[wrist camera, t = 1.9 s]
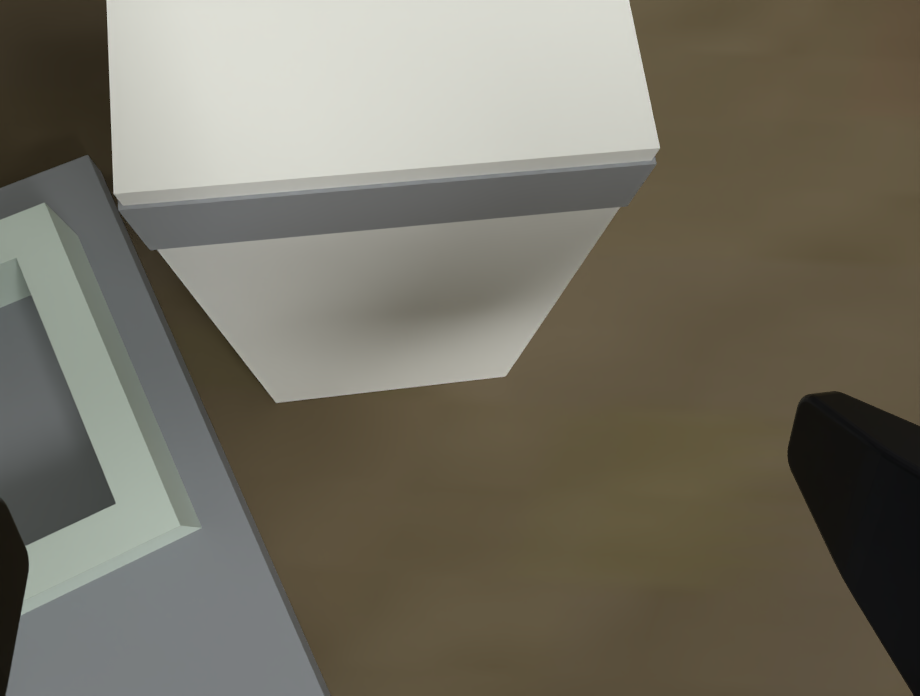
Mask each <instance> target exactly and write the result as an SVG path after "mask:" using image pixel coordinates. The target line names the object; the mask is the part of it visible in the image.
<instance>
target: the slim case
mask: <svg viewBox="0 0 920 696" xmlns="http://www.w3.org/2000/svg"><path fill="white" fill-rule="evenodd" d="M107 27H108V54H109V81H110V108H111V136H112V163H113V190H114V195H115V196H116V198H117V199H118V211H119V212H120V213H121V215H122V216H123V217H124V218H125V219H126V221H127V222H128V223H129V224H130V226H131V227H132V228H133V229H134V231H135V232H136V233H137V234H138V236H139V237H140V238H141V239H142V241H143V242H144V243H145V244H146V246H147V247H148V248H149V249H150V250H158V252H159V253H160V254H161V256H162V257H163V258H164V259H165V261H166V262H167V263H168V265H169V266H170V267H171V268H172V270H173V271H174V272H175V274H176V275H177V276H178V277H179V279H180V280H181V281H182V283H183V284H184V285H185V286H186V288H187V289H188V290H189V292H190V293H191V294H192V295H193V297H194V298H195V299H196V301H197V302H198V303H199V304H200V306H201V307H202V308H203V310H204V311H205V312H206V313H207V315H208V316H209V317H210V319H211V320H212V321H213V322H214V324H215V325H216V326H217V328H218V329H219V330H220V331H221V333H222V334H223V335H224V337H225V338H226V339H227V340H228V342H229V343H230V344H231V346H232V347H233V348H234V349H235V351H236V352H237V353H238V355H239V356H240V357H241V358H242V360H243V361H244V362H245V364H246V365H247V366H248V367H249V369H250V370H251V371H252V373H253V374H254V375H255V376H256V378H257V379H258V380H259V382H260V383H261V384H262V385H263V387H264V388H265V389H266V391H267V392H268V393H269V394H270V396H271V397H272V398H273V400H274V401H275V402H276V403H280V402H289V401H297V400H306V399H315V398H323V397H332V396H341V395H349V394H358V393H367V392H375V391H384V390H393V389H401V388H410V387H419V386H427V385H436V384H445V383H453V382H462V381H471V380H479V379H488V378H496V377H505V376H506V375H507V374H508V372H509V371H510V369H511V368H512V366H513V365H514V363H515V362H516V360H517V359H518V357H519V356H520V354H521V353H522V351H523V350H524V348H525V347H526V345H527V344H528V342H529V341H530V340H531V338H532V337H533V335H534V334H535V332H536V331H537V329H538V328H539V326H540V325H541V323H542V322H543V320H544V319H545V317H546V316H547V314H548V313H549V311H550V310H551V308H552V307H553V306H554V304H555V303H556V301H557V300H558V298H559V297H560V295H561V294H562V292H563V291H564V289H565V288H566V286H567V285H568V283H569V282H570V280H571V279H572V277H573V276H574V274H575V273H576V271H577V270H578V269H579V267H580V266H581V264H582V263H583V261H584V260H585V258H586V257H587V255H588V254H589V252H590V251H591V249H592V248H593V246H594V245H595V243H596V242H597V240H598V239H599V237H600V236H601V235H602V233H603V232H604V230H605V229H606V227H607V226H608V224H609V223H610V221H611V220H612V218H613V217H614V215H615V214H616V212H617V211H618V209H619V208H620V207H624V206H628V204H629V203H630V201H631V200H632V198H633V197H634V196H635V194H636V193H637V191H638V190H639V188H640V187H641V186H642V184H643V183H644V181H645V180H646V178H647V177H648V175H649V174H650V173H651V171H652V170H653V168H654V167H655V165H656V159H655V155H656V153H657V152H658V150H659V149H660V146H659V141H658V136H657V132H656V127H655V122H654V117H653V113H652V108H651V103H650V98H649V94H648V89H647V84H646V79H645V75H644V70H643V65H642V60H641V56H640V51H639V46H638V41H637V37H636V32H635V27H634V22H633V18H632V13H631V8H630V4H629V0H107Z"/></svg>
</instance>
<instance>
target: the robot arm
mask: <svg viewBox="0 0 920 696" xmlns="http://www.w3.org/2000/svg"><path fill="white" fill-rule="evenodd" d="M788 463H789V466H790V469H791V472H792V474H793V476H794V478H795V480H796V482H797V484H798V486H799V489H800V491H801V493H802V495H803V497H804V499H805V501H806V503H807V505H808V508H809V510H810V512H811V514H812V516H813V518H814V520H815V522H816V524H817V527H818V529H819V531H820V533H821V535H822V537H823V539H824V541H825V544H826V546H827V548H828V550H829V552H830V554H831V556H832V558H833V560H834V562H835V564H836V566H837V568H838V570H839V572H840V574H841V576H842V578H843V580H844V581H845V583H846V585H847V586H848V588H849V590H850V592H851V593H852V595H853V597H854V598H855V600H856V602H857V603H858V605H859V607H860V608H861V610H862V612H863V613H864V615H865V616H866V618H867V620H868V621H869V623H870V625H871V626H872V628H873V630H874V631H875V633H876V635H877V636H878V638H879V639H880V641H881V643H882V644H883V646H884V648H885V649H886V651H887V653H888V654H889V656H890V657H891V659H892V661H893V662H894V664H895V666H896V667H897V669H898V671H899V672H900V674H901V675H902V677H903V679H904V680H905V682H906V684H907V685H908V687H909V689H910V690H911V692H912V693H913V695H914V696H920V426H918V425H916V424H913V423H911V422H909V421H907V420H904V419H902V418H900V417H897V416H895V415H893V414H890V413H888V412H886V411H883V410H881V409H879V408H876V407H874V406H872V405H869V404H867V403H865V402H862V401H860V400H858V399H855V398H853V397H851V396H848V395H846V394H844V393H841V392H837V391H831V392H823V393H815V394H808V395H806V396H804V397H803V398H802V399H801V400H800V402H799V404H798V407H797V411H796V415H795V419H794V424H793V428H792V432H791V436H790V441H789V445H788ZM28 573H29V557H28V552H27V549H26V546H25V544H24V542H23V540H22V537H21V535H20V533H19V531H18V528H17V526H16V524H15V521H14V519H13V517H12V515H11V512H10V510H9V508H8V506H7V504H6V503H5V501H4V500H3V499H2V498H0V696H6V692H7V687H8V682H9V677H10V671H11V666H12V660H13V655H14V649H15V644H16V639H17V633H18V628H19V622H20V617H21V611H22V606H23V600H24V595H25V590H26V584H27V579H28Z"/></svg>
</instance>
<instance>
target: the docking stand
mask: <svg viewBox="0 0 920 696" xmlns="http://www.w3.org/2000/svg"><path fill="white" fill-rule="evenodd" d="M0 498H2V499H3V500H4V501H5V503H6V504H7V506H8V508H9V510H10V512H11V515H12V517H13V519H14V521H15V524H16V526H17V528H18V531H19V533H20V535H21V537H22V540H23V542H24V544H25V546H26V549H27V552H28V557H29V573H28V579H27V584H26V590H25V595H24V600H23V606H22V611H21V617H20V622H19V628H18V633H17V639H16V644H15V649H14V655H13V660H12V666H11V671H10V677H9V682H8V687H7V692H6V696H331V695H330V693H329V690H328V688H327V686H326V684H325V681H324V679H323V677H322V674H321V672H320V670H319V668H318V665H317V663H316V661H315V658H314V656H313V654H312V652H311V649H310V647H309V645H308V643H307V640H306V638H305V636H304V633H303V631H302V629H301V627H300V624H299V622H298V620H297V617H296V615H295V613H294V611H293V608H292V606H291V604H290V601H289V599H288V597H287V595H286V592H285V590H284V588H283V586H282V583H281V581H280V579H279V576H278V574H277V572H276V570H275V567H274V565H273V563H272V560H271V558H270V556H269V554H268V551H267V549H266V547H265V544H264V542H263V540H262V538H261V535H260V533H259V531H258V529H257V526H256V524H255V522H254V519H253V517H252V515H251V513H250V510H249V508H248V506H247V503H246V501H245V499H244V497H243V494H242V492H241V490H240V487H239V485H238V483H237V481H236V478H235V476H234V474H233V472H232V469H231V467H230V465H229V462H228V460H227V458H226V456H225V453H224V451H223V449H222V446H221V444H220V442H219V440H218V437H217V435H216V433H215V430H214V428H213V426H212V424H211V421H210V419H209V417H208V415H207V412H206V410H205V408H204V405H203V403H202V401H201V399H200V396H199V394H198V392H197V389H196V387H195V385H194V383H193V380H192V378H191V376H190V373H189V371H188V369H187V367H186V364H185V362H184V360H183V358H182V355H181V353H180V351H179V348H178V346H177V344H176V342H175V339H174V337H173V335H172V332H171V330H170V328H169V326H168V323H167V321H166V319H165V316H164V314H163V312H162V310H161V307H160V305H159V303H158V301H157V298H156V296H155V294H154V291H153V289H152V287H151V285H150V282H149V280H148V278H147V275H146V273H145V271H144V269H143V266H142V264H141V262H140V260H139V257H138V255H137V253H136V250H135V248H134V246H133V244H132V241H131V239H130V237H129V234H128V232H127V230H126V228H125V225H124V223H123V221H122V218H121V216H120V214H119V212H118V209H117V207H116V205H115V203H114V200H113V198H112V196H111V193H110V191H109V189H108V187H107V184H106V182H105V180H104V177H103V175H102V173H101V171H100V170H99V169H98V167H97V166H96V165H95V163H94V162H93V161H92V160H91V158H90V157H89V156H88V155H86V156H83V157H80V158H78V159H75V160H72V161H70V162H67V163H65V164H62V165H59V166H57V167H54V168H52V169H49V170H46V171H44V172H41V173H38V174H36V175H33V176H31V177H28V178H25V179H23V180H20V181H18V182H15V183H12V184H10V185H7V186H4V187H2V188H0Z"/></svg>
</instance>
